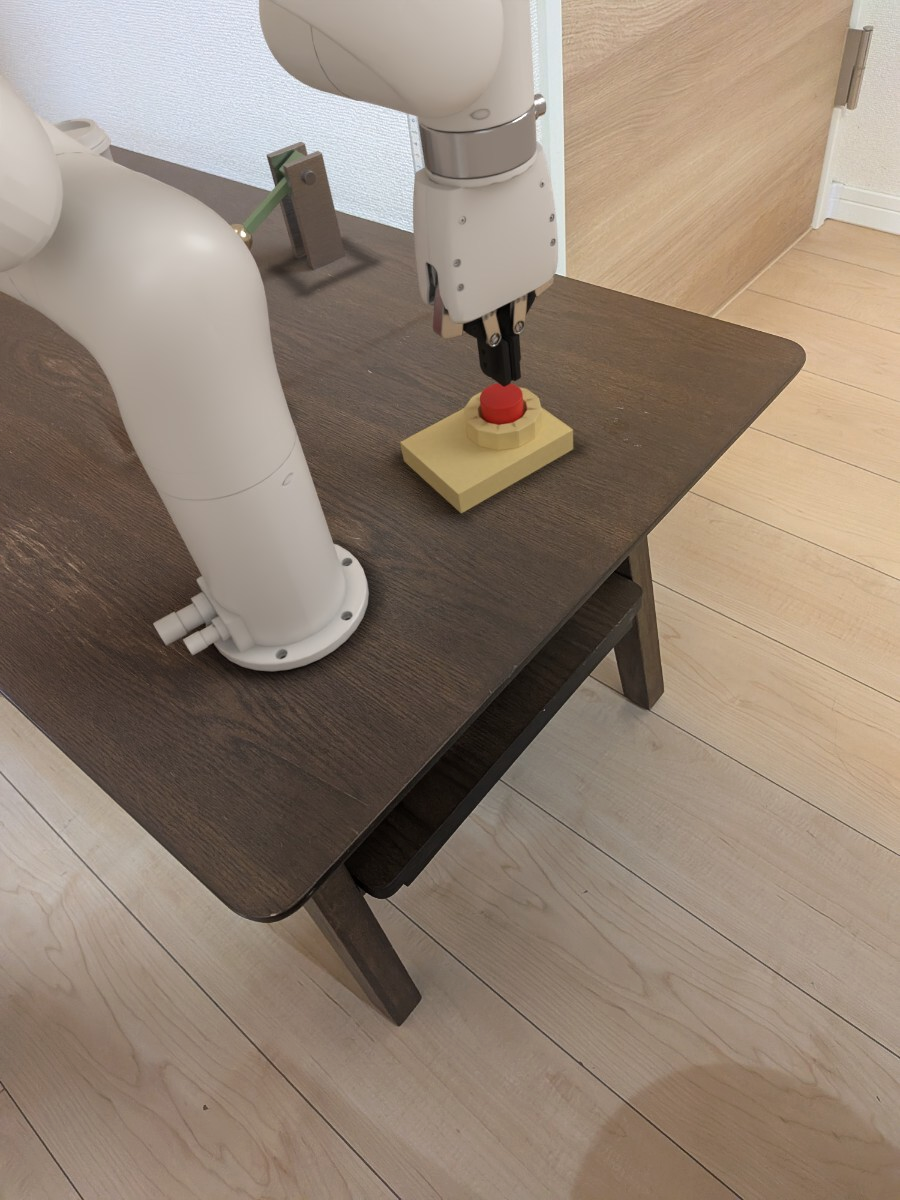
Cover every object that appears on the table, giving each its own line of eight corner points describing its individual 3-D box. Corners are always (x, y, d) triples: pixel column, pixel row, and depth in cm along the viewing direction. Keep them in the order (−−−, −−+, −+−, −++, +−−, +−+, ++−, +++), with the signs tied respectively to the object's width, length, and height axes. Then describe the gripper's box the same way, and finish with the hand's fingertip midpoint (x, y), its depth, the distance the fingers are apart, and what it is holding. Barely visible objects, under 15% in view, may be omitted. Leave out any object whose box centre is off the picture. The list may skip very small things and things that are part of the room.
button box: (461, 513, 68) (455, 477, 65) (403, 461, 73) (396, 425, 70) (573, 449, 71) (573, 412, 68) (510, 403, 77) (507, 367, 74)
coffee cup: (164, 235, 110) (116, 113, 98) (135, 272, 104) (80, 146, 92) (101, 238, 112) (46, 118, 100) (68, 274, 106) (6, 151, 94)
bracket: (304, 292, 95) (273, 178, 85) (274, 268, 100) (241, 158, 90) (370, 263, 98) (347, 149, 88) (338, 241, 102) (312, 130, 93)
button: (498, 431, 69) (496, 414, 67) (473, 412, 71) (471, 395, 69) (532, 412, 70) (531, 395, 68) (506, 394, 72) (505, 377, 70)
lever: (243, 265, 92) (224, 245, 89) (232, 255, 93) (212, 235, 91) (322, 176, 91) (304, 153, 88) (308, 168, 93) (291, 145, 90)
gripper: (532, 89, 58) (544, 321, 72) (353, 164, 54) (402, 395, 68) (604, 114, 54) (601, 356, 68) (414, 198, 49) (453, 437, 63)
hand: (501, 375), depth 68 cm, fingers closed
